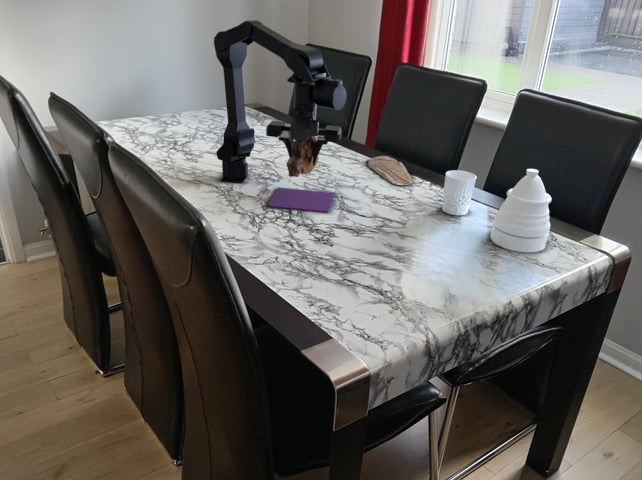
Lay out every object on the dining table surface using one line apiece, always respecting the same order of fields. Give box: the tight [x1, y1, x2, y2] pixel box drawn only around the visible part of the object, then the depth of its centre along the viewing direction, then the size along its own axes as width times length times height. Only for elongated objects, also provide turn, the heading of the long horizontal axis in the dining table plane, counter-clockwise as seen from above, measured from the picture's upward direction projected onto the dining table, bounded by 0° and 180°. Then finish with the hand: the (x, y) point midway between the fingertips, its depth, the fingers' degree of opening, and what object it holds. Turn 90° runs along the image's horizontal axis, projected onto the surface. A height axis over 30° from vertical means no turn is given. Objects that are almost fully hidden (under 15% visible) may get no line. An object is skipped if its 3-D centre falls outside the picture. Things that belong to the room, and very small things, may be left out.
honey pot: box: [490, 168, 553, 253], centre depth 135 cm, size 13×13×18 cm
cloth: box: [267, 187, 335, 214], centre depth 156 cm, size 16×14×1 cm
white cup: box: [441, 169, 477, 216], centre depth 152 cm, size 8×8×10 cm
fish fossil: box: [367, 155, 413, 186], centre depth 181 cm, size 26×10×1 cm, turn 18°
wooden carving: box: [286, 136, 322, 178], centre depth 150 cm, size 16×5×10 cm, turn 161°
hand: (303, 164), depth 151 cm, fingers closed on wooden carving, 5 cm apart
